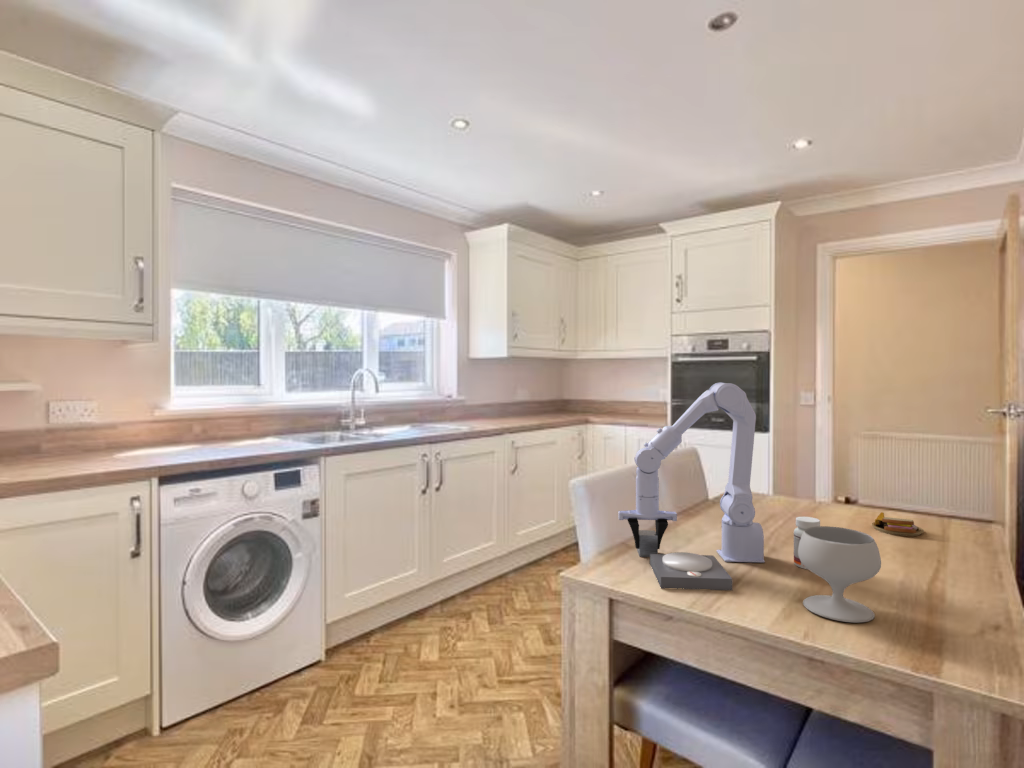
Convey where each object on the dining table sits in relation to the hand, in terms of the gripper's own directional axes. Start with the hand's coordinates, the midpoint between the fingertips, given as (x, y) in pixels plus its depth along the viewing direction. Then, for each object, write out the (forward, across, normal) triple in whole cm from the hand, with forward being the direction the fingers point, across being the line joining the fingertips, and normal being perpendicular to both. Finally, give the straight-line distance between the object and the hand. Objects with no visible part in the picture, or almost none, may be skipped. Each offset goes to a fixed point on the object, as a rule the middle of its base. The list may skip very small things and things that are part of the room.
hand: (647, 547), depth 142 cm
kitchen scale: (+2, -7, +15) cm, 17 cm away
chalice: (+2, -32, +31) cm, 45 cm away
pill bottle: (+2, -37, +6) cm, 38 cm away
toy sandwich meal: (+2, -76, -26) cm, 80 cm away
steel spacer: (+2, 0, 0) cm, 2 cm away
